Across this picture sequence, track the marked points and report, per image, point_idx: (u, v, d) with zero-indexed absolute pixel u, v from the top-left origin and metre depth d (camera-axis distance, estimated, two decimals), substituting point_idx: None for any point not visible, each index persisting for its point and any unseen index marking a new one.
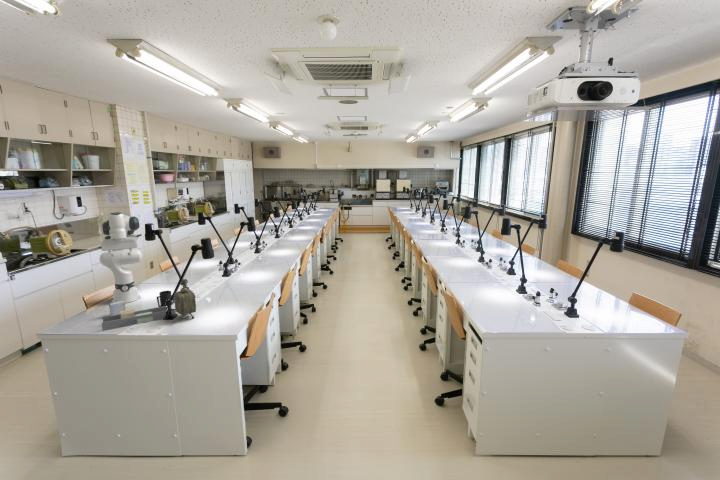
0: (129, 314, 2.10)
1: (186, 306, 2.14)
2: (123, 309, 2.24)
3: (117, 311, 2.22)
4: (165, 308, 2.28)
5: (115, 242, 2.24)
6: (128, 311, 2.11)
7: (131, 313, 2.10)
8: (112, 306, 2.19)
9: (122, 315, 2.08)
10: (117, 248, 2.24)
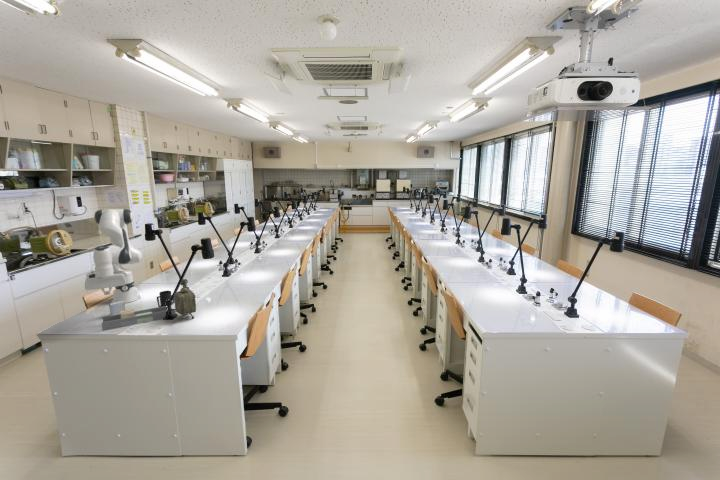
0: (129, 314, 2.10)
1: (186, 306, 2.14)
2: (123, 309, 2.24)
3: (117, 311, 2.22)
4: (165, 308, 2.28)
5: (101, 280, 1.99)
6: (128, 311, 2.11)
7: (131, 313, 2.10)
8: (112, 306, 2.19)
9: (122, 315, 2.08)
10: (103, 286, 2.00)
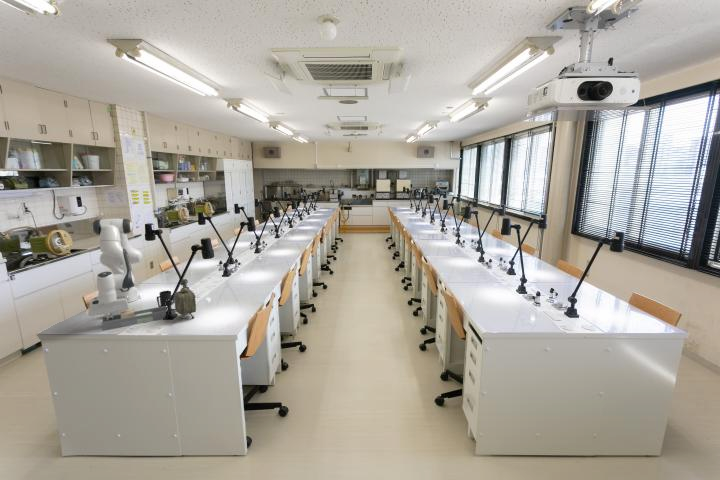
0: (129, 314, 2.10)
1: (186, 306, 2.14)
2: None
3: None
4: (165, 308, 2.28)
5: (104, 306, 2.02)
6: (128, 311, 2.11)
7: (131, 313, 2.10)
8: None
9: (122, 315, 2.08)
10: (106, 312, 2.03)
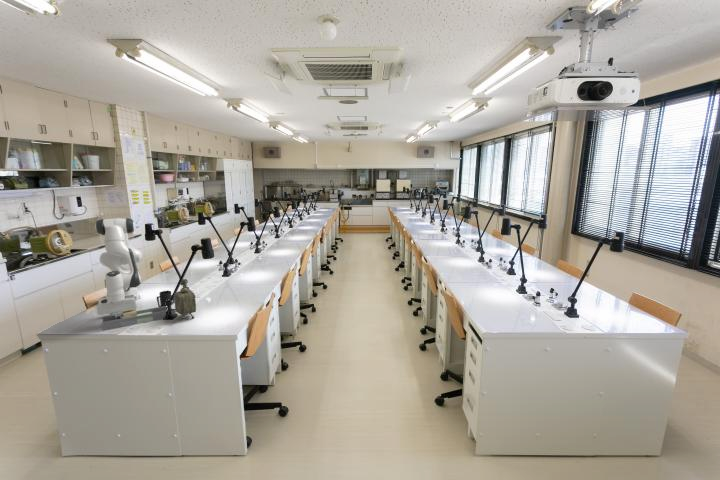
0: (131, 314, 2.10)
1: (186, 306, 2.14)
2: None
3: None
4: (165, 308, 2.28)
5: (112, 305, 2.05)
6: (131, 311, 2.11)
7: (133, 313, 2.11)
8: None
9: (124, 315, 2.08)
10: (114, 311, 2.06)
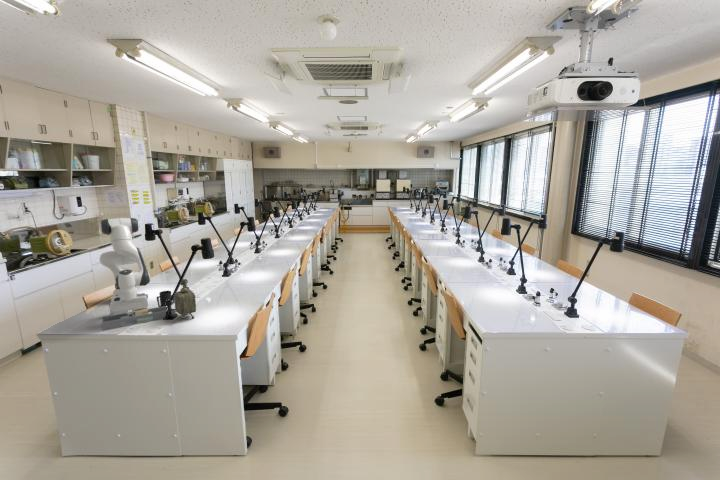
0: (143, 312, 2.14)
1: (186, 306, 2.14)
2: None
3: None
4: (165, 308, 2.28)
5: (125, 303, 2.08)
6: (142, 309, 2.15)
7: (145, 311, 2.14)
8: None
9: (136, 312, 2.12)
10: (127, 309, 2.09)
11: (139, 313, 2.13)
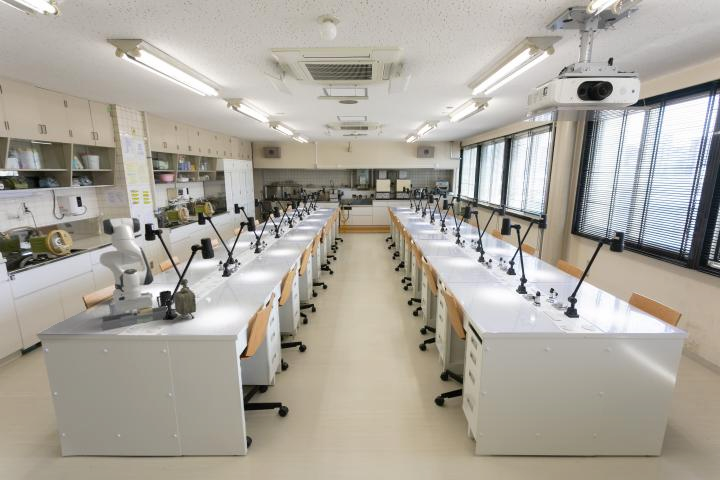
0: (147, 311, 2.15)
1: (186, 306, 2.14)
2: None
3: None
4: (165, 308, 2.28)
5: (129, 302, 2.10)
6: (147, 308, 2.16)
7: (149, 310, 2.16)
8: (112, 306, 2.19)
9: (141, 312, 2.13)
10: (131, 308, 2.11)
11: (143, 312, 2.14)
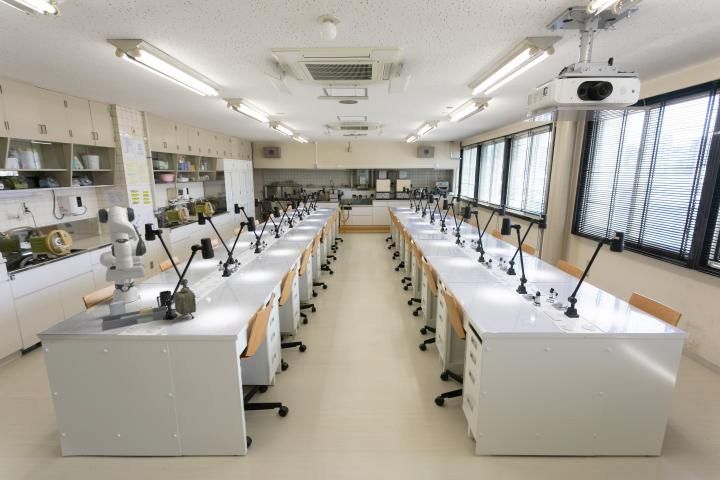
0: (147, 311, 2.15)
1: (186, 306, 2.14)
2: (123, 309, 2.24)
3: (117, 311, 2.22)
4: (165, 308, 2.28)
5: (121, 272, 2.05)
6: (147, 308, 2.16)
7: (149, 310, 2.16)
8: (112, 306, 2.19)
9: (141, 312, 2.13)
10: (123, 278, 2.06)
11: (144, 312, 2.14)
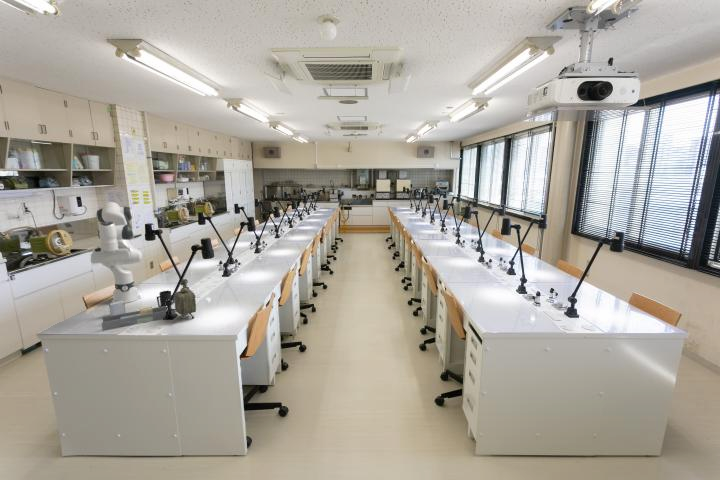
0: (147, 311, 2.15)
1: (186, 306, 2.14)
2: (123, 309, 2.24)
3: (117, 311, 2.22)
4: (165, 308, 2.28)
5: (106, 254, 2.09)
6: (147, 308, 2.16)
7: (149, 310, 2.16)
8: (112, 306, 2.19)
9: (141, 312, 2.13)
10: (108, 260, 2.10)
11: (144, 312, 2.14)
